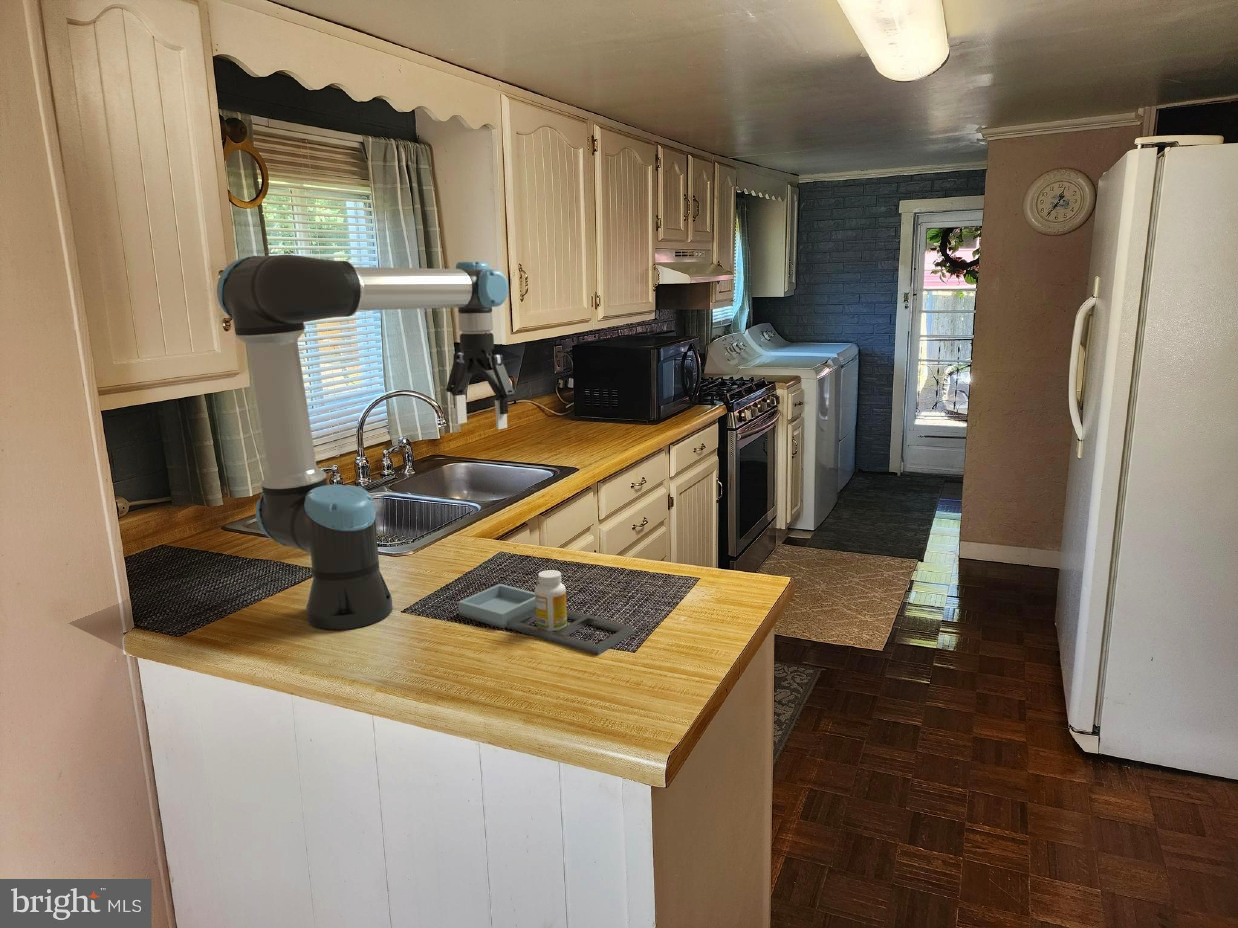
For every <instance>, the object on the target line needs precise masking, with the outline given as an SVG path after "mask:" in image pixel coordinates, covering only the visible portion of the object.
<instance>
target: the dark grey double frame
mask: <svg viewBox="0 0 1238 928" xmlns="http://www.w3.org/2000/svg"><path fill="white" fill-rule="evenodd" d="M567 620H571V621H573V622H571V623H569V624H567V625H566V626H565V627H563V628H561V629H560V630H557V631H549V630H545V629H542V628H538V627H537V626H535V625H531V624H532V623H533V622H536V608H534V609H532V610H530V611H527V612H525V613H523V614H521V615H519V616H517V617H515V618H513V619H511V620H509V621H507V627H506V628H507V629H509V630H513V631H516V632H520V633H522V634H527V635H530V636H534V637H535V638H536V637H537V638H540V639H544V640H548V641H550V642H554V643H558V644H560V645H563V646H567V647H570V648H574V649H578V650H580V651H583V652H588V653H591V654H594V655H601V654H602V653H604V652H606V651H608V650H609V649H611V648H612V647H614V646H615V645H617V644H618V643H621V642H622V641H624V640H626V639H627V638H629V637H630V636H632V635H633V634H634V626H631V625H627V624H624V623H620V622H616V621H612V620H608V619H605V618H601V617H597V616H594V615H589V614H586V613H581V612H577V611H575V610H571V609H567ZM588 625H590V626H594V627H598V628H601V629H605V630H608V631H612V632H616V633H613V634H612V635H610V636H609V637H606V638H605V639H603V640H602V641H600V642H599V643H593V642H590V641H588V640H587V641H586V640H583V639H579V638H576V637H573V636H570V635H571V634H573V633H574V632H576V631H577V632H578V631H579V630H580V629H582V628H584V627H585V626H588Z"/></svg>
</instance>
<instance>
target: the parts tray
mask: <svg viewBox="0 0 1238 928" xmlns="http://www.w3.org/2000/svg"><path fill="white" fill-rule="evenodd" d="M457 603H458V605H457V606H458V608H457V609H458V616H461V617H464V618H467V619H470V620H474V621H476V622H477V621H478V622H480V623H485V624H488V625H490V626H494V627H496V628H497V627H498V628H501V629H505V628H507V621H509V620H511V619H513V618H515V617H517V616H519V615H521V614H523V613H525V612H527V611H530V610H532V609H534V608H536V603H535V591H534V592H533V591H530V590H525V589H521V588H519V587H515V586H511V585H507V584H502V583H498V584H496V585H494V586H491V587H489V588H486V589H484V590H482V591H480V592H477V593H475V594H473V595H471V596H468V597H466V598H464V599H461V600H459V601H457Z"/></svg>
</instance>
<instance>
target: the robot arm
mask: <svg viewBox="0 0 1238 928" xmlns="http://www.w3.org/2000/svg"><path fill="white" fill-rule="evenodd" d="M216 286H217V287H216V296H217V300H218V303H219V305H220V307H221V309H222V310H223V311H222V312H224V313H225V314H226V315H227V316H228V317H229V318H231V319H232V322H233V326H234V332H235V337H236V338H237V339H238V340H240V341H241V342H243V343H244V344H245V346H246V348H247V353H248V354H247V355H248V359H249V367H250V372H251V379H252V382H253V384H252V385H253V390H254V394H255V395H254V396H255V400H256V408H257V414H258V418H259V425H260V431H261V436H262V442H263V448H264V455H265V459H266V466H267V472H268V473H267V475H266V476H265V477H264V479H263V480H262V481H261V483H260V485H261V489H262V491H261V492H262V493H260V497H259V499H258V500H257V502H256V505H255V518H256V522H257V524H258V527H259V528H260V530H261V532H262V533H263V534H264V535H265V536H266V537H268V539H271V540H272V541H274V542H275V543H278V544H280V545H282V546H285V547H288V548H289V547H290V548H294V549H298V550H299V551H303V552H306V553H309V554H310V562H311V570H312V571H311V572H312V582H311V587H310V591H309V596H308V602H307V604H306V607H305V612H306V621H307V623H308V624H309V625H310V626H312V627H314V628H318V629H321V630H333V631H334V630H335V631H337V630H339V631H340V630H349V629H356V628H361V627H365V626H369V625H372V624H375V623H377V622H381V620H383V619H385V618H387V617H388V616H390V614H391V613H392V612H393V610H394V609H393V608H394V607H393V600H392V599H393V598H392V594H391V593H390V590H389V588H388V586H387V584H386V581H385V579H384V577H383V575H382V573H381V570H380V569H381V568H380V560H379V559H380V558H379V548H378V546H379V545H378V535H377V523H376V516H377V512H376V509H375V508H376V507H375V505H374V504H375V503H374V499H373V496H372V495H371V494H370V492H368V490H366V489H364V488H362V487H360V486H356V485H353V484H352V485H350V484H347V485H343V484H337V483H336V484H329V483H328V476H327V473H326V472H325V471H323V470H322V469H321V468H319V467H318V465H317V461H316V455H315V454H316V453H315V448H314V446H315V445H314V440H313V435H312V427H311V420H310V416H309V415H310V414H309V408H308V407H309V406H308V401H307V396H306V388H305V382H304V376H303V370H302V369H303V368H302V362H301V355H300V350H299V349H300V348H299V343H298V342H299V341H298V340H299V339H300V337H301V336H302V335H303V334H304V332H305V330H306V329H305V323H307V322H308V323H309V322H312V321H313V322H314V321H319V320H325V319H331V318H332V319H333V318H344V317H353V316H354V315H355V314H356V313H357V312H358V311H383V310H385V311H387V310H413V309H414V310H415V309H416V310H417V309H418V310H419V309H422V310H423V309H447V308H448V309H450V308H455V309H456V308H457V309H458V310H457V314H458V330H459V332H461V333H460V334H459V348H460V350H461V351H463V352H456V353H455V352H454V353H453V357H452V358H453V362H452V367H451V370H450V374H449V376H448V381H447V385H446V387H445V391H446V392H447V393H450V394H451V395H452V396H453V397H452V398H453V408H454V413H455V424H456V425H461V424H465V423H468V419H467V418H468V417H467V400H466V398H467V397H466V394H465V389H466V388H467V386H468V384H469V383H470V380H471V379H472V377H473V375H475V374H477V375H481V376H482V377H484V378H485V380H486V382H487V383H488V385H489V387H490V388H491V390H492V391H493V393H494V395H495V397H496V399H494V408H495V427H496V430H504V429H508V413H509V401H508V400H509V399H510V398H513V397H515V395H516V394H515V389H514V388H513V385H512V383H511V380H510V377H509V375H508V372H507V369H506V367H505V365H504V358H503V357H504V356H503V355H502V354H492V350H494V349H495V341H494V340H495V339H494V338H495V337H494V334H493V333H492V332H491V331H493V330H494V323H493V322H494V321H493V308H496V307H500V306H502V305H503V304H504V303H505V301H506V300H507V298H508V296H509V282H508V280H507V277H506V276H505V275H504V273H503V272H502V271H500V270H499V269H493V268H490V265H489V263H488V262H486V261H459V262H457V263H456V264H455V268H424V267H423V268H421V267H419V268H417V267H414V268H413V267H377V266H376V267H373V266H372V267H371V266H369V267H368V266H354V265H353V263H352V262H349V261H347V260H332V259H323V258H315V257H310V256H304V255H295V254H279V255H278V254H277V255H252V256H245V257H244V258H240V259H237V260H234V261H232V262H231V263H230V264H228V265H227V266H226V267H225V269H224V270H223V271H222V272H221V274H220V276H219V278H218V281H217V285H216Z"/></svg>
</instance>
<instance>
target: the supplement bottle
mask: <svg viewBox="0 0 1238 928" xmlns="http://www.w3.org/2000/svg"><path fill="white" fill-rule="evenodd" d="M537 575H538V576H537V579H538V581H537V582H538V584H537V585H536V586H535V588H534V593H535V603H536V620H535V622H536V627H538V628H542V629H545V630H549V631H552V632H556V631H558V630H560V629H561V628H563V627H565V626H567V625H568V619H567V610H568V609H567V590H566V586H565V584H563V583H562V573H561V571H559V570H555V569H549V570H542V571H540V572H538V574H537Z"/></svg>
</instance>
